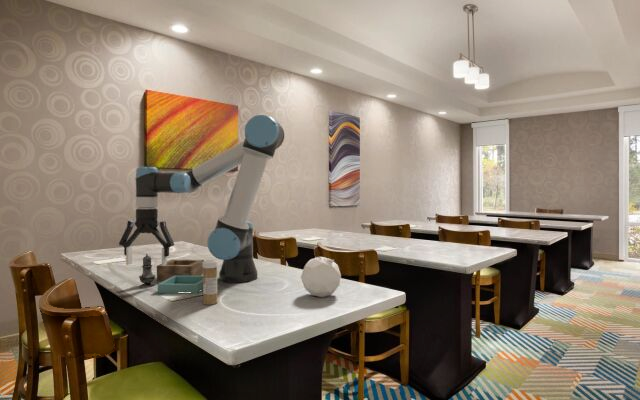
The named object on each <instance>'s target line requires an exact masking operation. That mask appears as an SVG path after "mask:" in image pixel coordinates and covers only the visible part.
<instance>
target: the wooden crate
mask: <svg viewBox="0 0 640 400" xmlns="http://www.w3.org/2000/svg"><path fill="white" fill-rule="evenodd" d="M203 261H205V259H170V260H167V265H164V266H162V263H160V264H158V265H156V281H157V282H163V281H165V280H167V279H169V278H171V277H173V276H203V266H202V264H203Z"/></svg>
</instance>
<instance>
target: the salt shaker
mask: <svg viewBox="0 0 640 400" xmlns="http://www.w3.org/2000/svg"><path fill="white" fill-rule="evenodd" d="M141 267H142V274H141V275H139V276H138V278H139V280H140V283H142V284H140V285H139V287H140V288H152V287H154V286H156V284H155V283H154V281H155V279H156V277H157V274H153V272H152V270H153V269H152V267H153V265H152V258H151V256H149V255H148V253H145V256H144V257H143V258H142V265H141Z"/></svg>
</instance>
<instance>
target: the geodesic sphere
mask: <svg viewBox="0 0 640 400" xmlns="http://www.w3.org/2000/svg"><path fill="white" fill-rule="evenodd" d="M300 278H301V282H302V285H303V287H304V290H306V292H307V293H308V294H310V295H311V296H315V297H320V298H325V297H328V296H330V295H333V294H334V293H335V291H337V289H338V287H340V283H341V279H342V274H341V271H340V267H339V265H338V264H337V263H336V262H335V259H333V258H329V257H328V258H327V257H325V256H316V257H314V258H311V259H309V260H308V261H307V262H306V263H305V265H304V267H303V270H302V273H301V276H300Z"/></svg>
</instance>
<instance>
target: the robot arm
mask: <svg viewBox="0 0 640 400" xmlns="http://www.w3.org/2000/svg"><path fill="white" fill-rule="evenodd" d="M244 137H245V138H244V140H243V141H241V142H239V143H238V144H235V145H234V146H232V147H230V148H228V149H226V150H225V151H222V152H221V153H219V154H217V155H215V156H214V157H211V158H210V159H208V160H206V161H205V162H202V163H201V164H199V165H197V166H195V167H194V168H192V169H190V170H188V171H186V172H159V171H158V168H157V167H155V166H138V167H137V168H136V169H135V170H136V171H135V179H134V180H135V207H136V209H135V219H136V220H135V221H134V220H128V221H127V223H126V227H125V229H124V232H123V234H122V236H121V239H120V240H119V243H118V245H119V246H122V247H123V249H124V251H123V253H124V256H125V258H126V259H125V260H126V266H127V265H128V266H129V265H132V264H133V246H131V245H132V243H133V242H134V241H135V240H136V239H137V238H138V236H140V234H152V235H153V236H154V237H155V238H156V240H158V242H159V243H160V245H162V248H161V264H162V266H164V265H167V261H168V257H169V256H170V247H174V246H175V242H174V240H173V238H172V236H171V233H170V231H169V230H168V227H167V222H166V220H164V221H158V203H159V201H158V194H159V193H165V194H166V193H167V194H169V193H171V194H173V193H174V194H185V193H187V194H188V193H189V194H190V193H194V192H196V191H197V190H198V189H200V187H201V186H203V185H205V184H207V183H208V182H211V181H213V180H215V179H217V178H218V177H220V176H223V175H224V174H226V173H227V172H229V171H232V170H233V169H235V168H236V167H239V169H238V173H237V176H236V179H235V182H234V185H233V188H232V190H231V194H230V196H229V199H228V203H227V205H226V209H225V212H224V214H223V215H222V216H220V217H219V218H217V219H218V220H217V221H216V225H215V228H214V229H213V230H212V232H210V234H209V236H208V238H207V248H208V251H209V253H210V254H211V255H212V256H213V257H215V258H216V259H218V260H221V261H222V264H221V267H220V270H219V275H218V276H219V277H218V280H219V281H221V282H225V283H244V282H251V281H255V280H257V279H258V269H257V267H256V264H255V261H254V254H253V253H254V243H253V242H254V237H253V236H254V234H253V233H254V232H253V231H254V229H253V227H254V226H253V223H252V222H251V221H249V217H250V214H251V210H252V208H253V205H254V201H255V199H256V197H257V192H258V189H259V187H260V183H261V182H262V181H261V180H262V178H263V175H264V172H265V170H266V169H265V168H266V167H267V162H268V161H269V160H271V159H273V158H274V155H275V153H276V150H277V149H279V148H280V147H281V146H282V145H283V143H284V140H285V131H284V129H283V127H282V125H281V124H280V123H279V122H278V121H277V120H276V119H274V118H273V117H272V116H269V115H267V114H257V115H254V116H252V117H251V118H249V120H248V121H247V122H246V123H245V126H244ZM134 227H136V229H135V230H134V232H133V233H132V235H131V236H130V234H131V232H132V231H133V229H134ZM158 227H159V228H160V230H159V229H158ZM160 231H161V232H160ZM161 233H162V234H161Z"/></svg>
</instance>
